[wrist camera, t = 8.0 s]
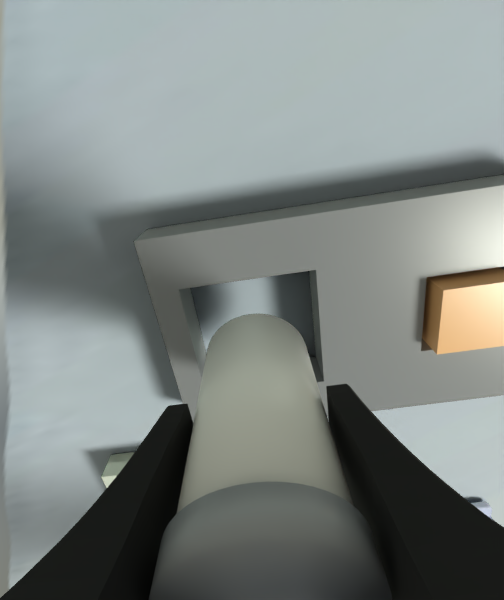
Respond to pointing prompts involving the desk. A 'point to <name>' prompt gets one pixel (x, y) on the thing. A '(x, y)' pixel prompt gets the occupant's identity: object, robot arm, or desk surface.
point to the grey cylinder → (264, 483)
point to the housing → (344, 285)
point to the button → (464, 311)
